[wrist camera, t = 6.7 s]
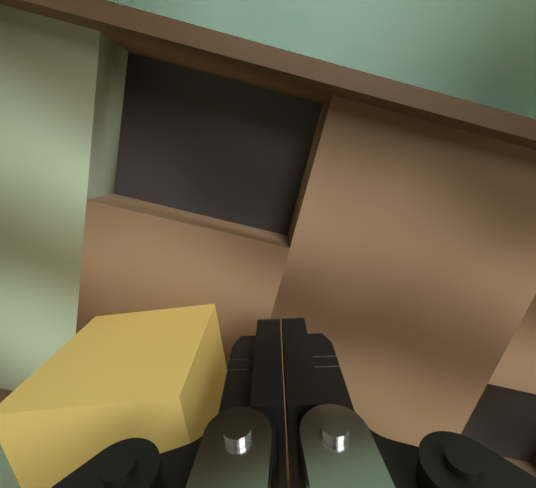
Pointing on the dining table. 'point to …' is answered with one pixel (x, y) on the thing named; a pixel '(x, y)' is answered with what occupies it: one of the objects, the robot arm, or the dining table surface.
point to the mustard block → (116, 391)
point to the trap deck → (268, 212)
